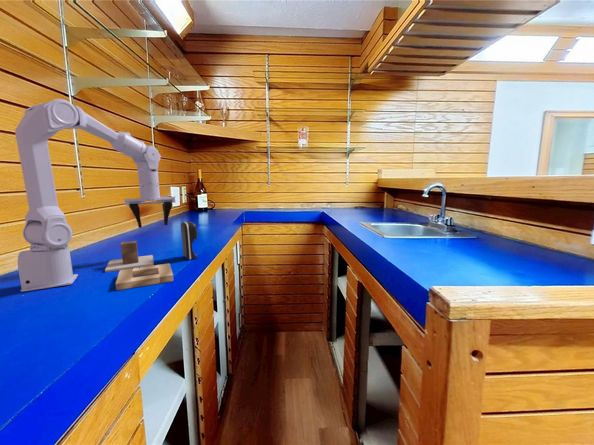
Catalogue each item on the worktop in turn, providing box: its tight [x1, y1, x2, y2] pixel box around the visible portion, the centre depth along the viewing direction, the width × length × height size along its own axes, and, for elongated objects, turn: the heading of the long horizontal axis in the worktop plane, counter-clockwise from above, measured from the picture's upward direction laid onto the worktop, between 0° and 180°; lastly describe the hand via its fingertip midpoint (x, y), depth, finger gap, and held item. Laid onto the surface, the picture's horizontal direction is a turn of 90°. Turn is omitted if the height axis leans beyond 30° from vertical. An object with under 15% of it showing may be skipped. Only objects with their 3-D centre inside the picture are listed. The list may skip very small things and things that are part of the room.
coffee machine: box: [180, 221, 199, 260], centre depth 94 cm, size 7×4×11 cm, turn 32°
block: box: [120, 240, 139, 265], centre depth 88 cm, size 4×4×6 cm
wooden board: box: [115, 263, 174, 291], centre depth 75 cm, size 12×12×2 cm
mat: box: [104, 254, 154, 273], centre depth 89 cm, size 12×12×1 cm
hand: (153, 226), depth 97 cm, fingers open, 7 cm apart
